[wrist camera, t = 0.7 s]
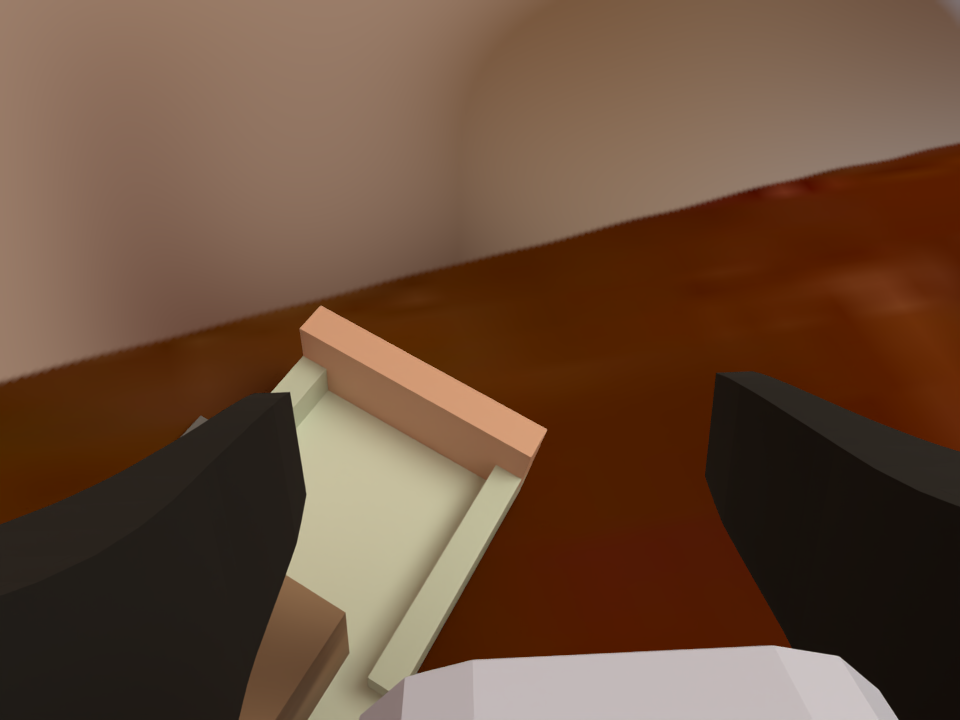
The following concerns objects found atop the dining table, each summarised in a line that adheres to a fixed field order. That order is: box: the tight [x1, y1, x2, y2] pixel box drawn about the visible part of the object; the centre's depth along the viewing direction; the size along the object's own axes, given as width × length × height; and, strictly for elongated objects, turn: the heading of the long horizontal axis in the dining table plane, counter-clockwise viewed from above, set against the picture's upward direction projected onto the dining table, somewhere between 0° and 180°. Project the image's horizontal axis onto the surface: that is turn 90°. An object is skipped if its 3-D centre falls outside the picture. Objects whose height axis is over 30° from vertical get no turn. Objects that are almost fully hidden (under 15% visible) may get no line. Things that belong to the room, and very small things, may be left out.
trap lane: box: [271, 306, 547, 720], centre depth 22 cm, size 17×9×5 cm, turn 151°
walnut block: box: [239, 575, 350, 720], centre depth 19 cm, size 5×5×5 cm
